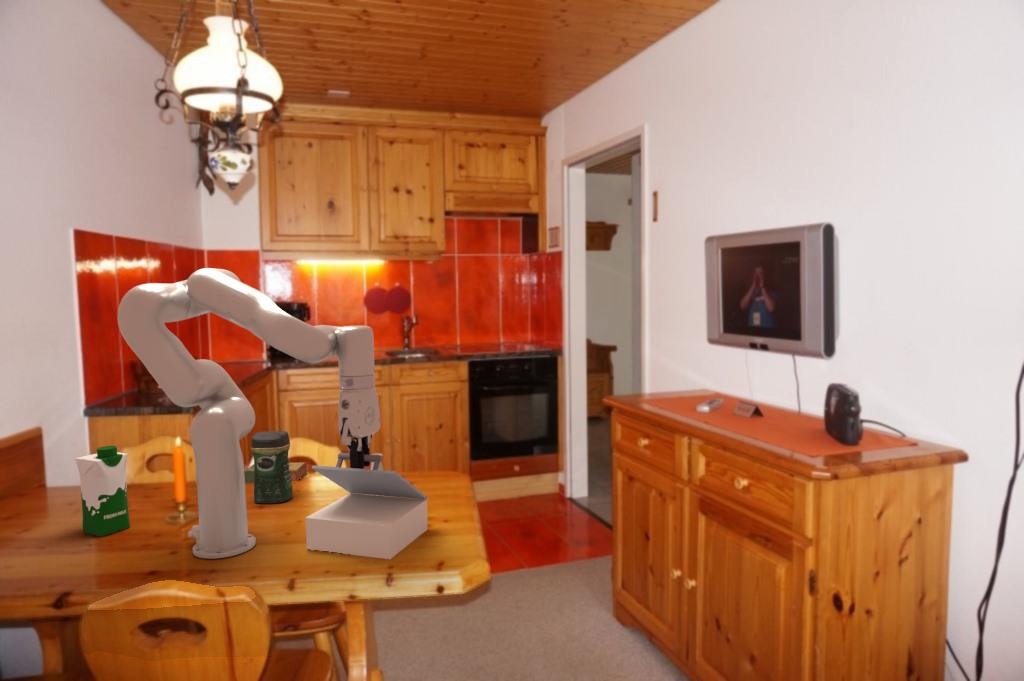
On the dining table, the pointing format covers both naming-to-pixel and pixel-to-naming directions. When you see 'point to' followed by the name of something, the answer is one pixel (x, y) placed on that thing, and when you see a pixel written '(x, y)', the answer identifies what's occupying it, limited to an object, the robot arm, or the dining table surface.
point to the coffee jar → (271, 467)
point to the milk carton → (104, 491)
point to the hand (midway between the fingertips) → (360, 466)
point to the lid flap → (369, 479)
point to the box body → (367, 525)
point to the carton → (296, 469)
